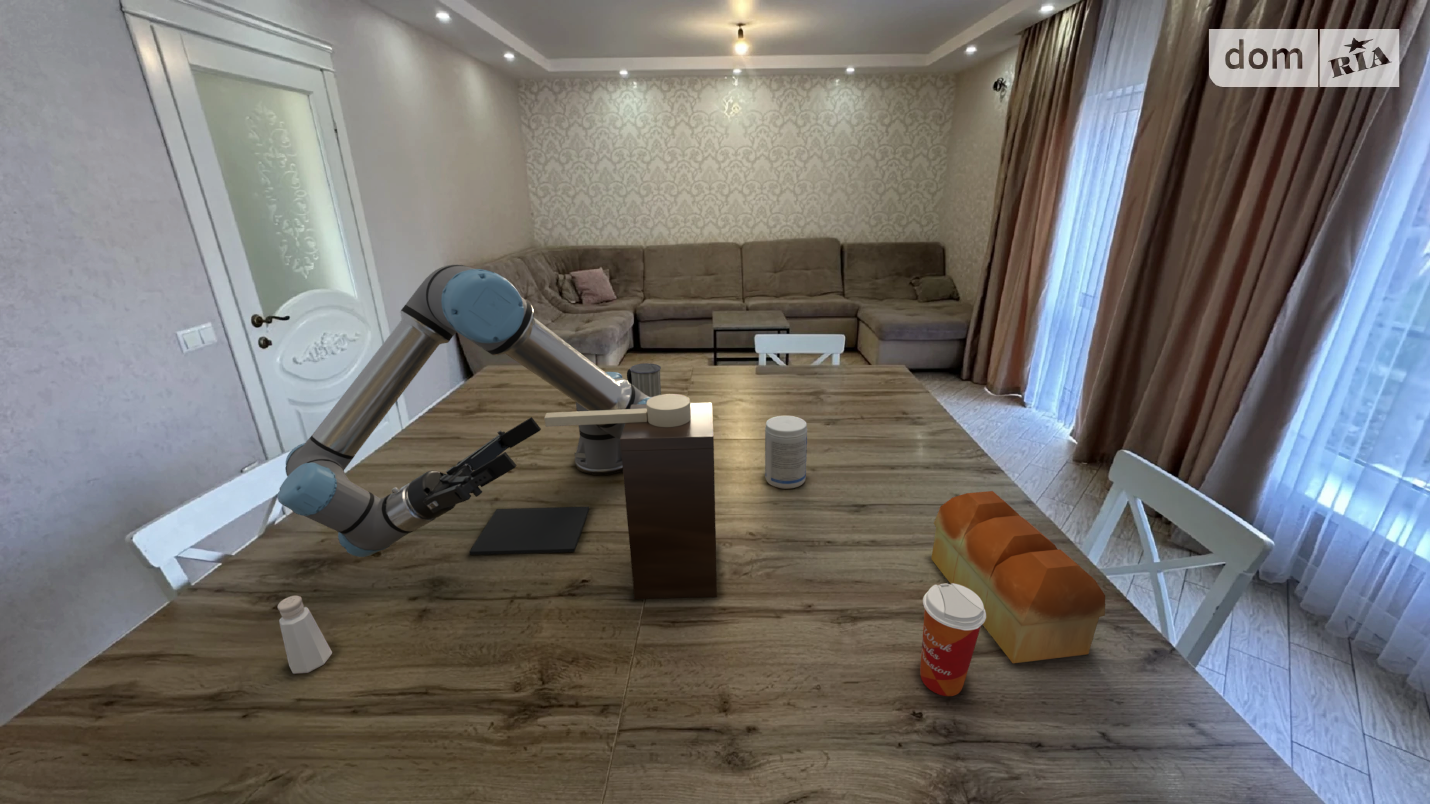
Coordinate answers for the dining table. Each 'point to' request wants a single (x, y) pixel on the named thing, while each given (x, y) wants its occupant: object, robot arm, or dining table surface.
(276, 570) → the dining table surface
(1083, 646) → the bread
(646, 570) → the tall dark wooden box
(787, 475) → the supplement tub
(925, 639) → the paper cup
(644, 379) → the milk frother
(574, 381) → the robot arm
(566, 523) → the mat
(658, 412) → the scoop
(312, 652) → the pepper shaker
